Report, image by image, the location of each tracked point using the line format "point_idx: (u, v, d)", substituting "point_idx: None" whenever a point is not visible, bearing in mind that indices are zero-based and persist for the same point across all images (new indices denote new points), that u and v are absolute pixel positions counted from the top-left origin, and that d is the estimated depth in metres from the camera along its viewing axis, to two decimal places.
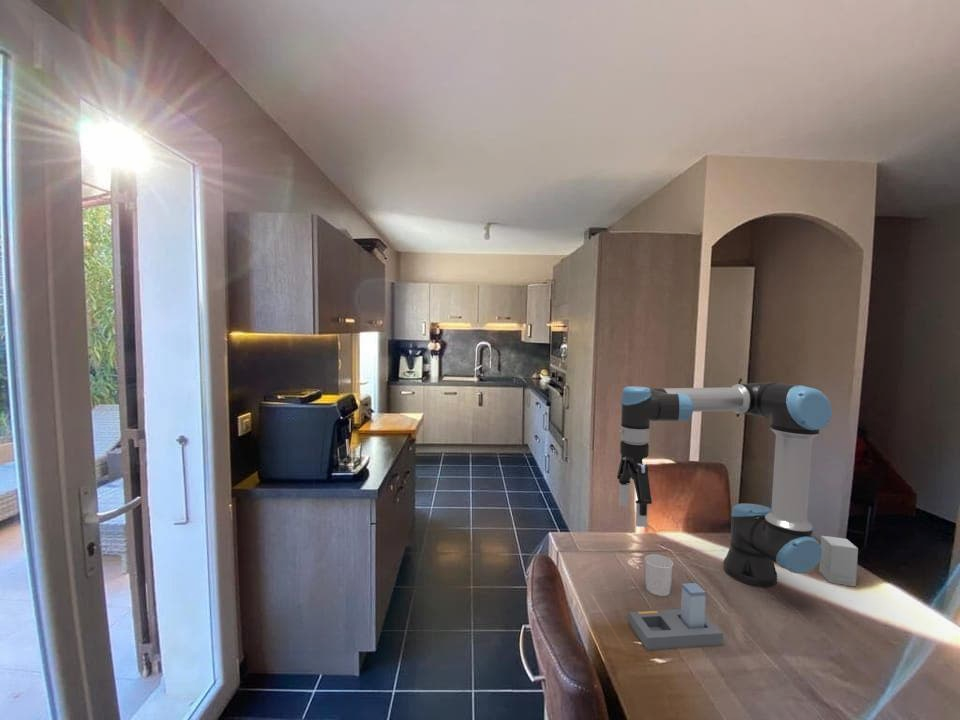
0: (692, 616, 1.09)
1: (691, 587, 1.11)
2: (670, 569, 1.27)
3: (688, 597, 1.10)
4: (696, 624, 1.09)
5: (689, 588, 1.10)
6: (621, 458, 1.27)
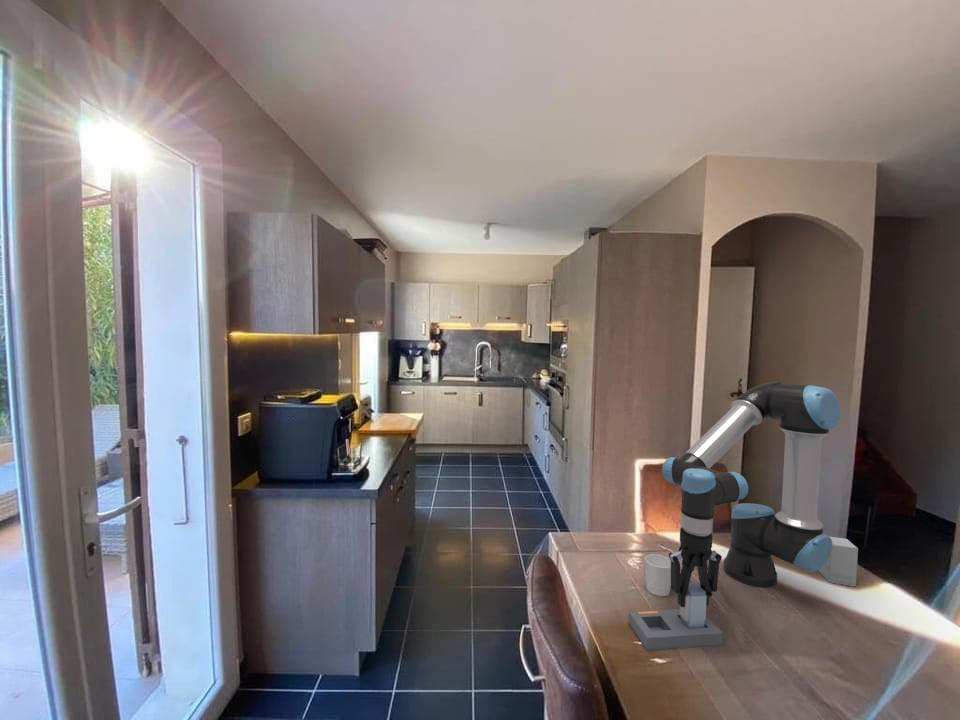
0: (692, 616, 1.09)
1: (691, 587, 1.11)
2: (670, 569, 1.27)
3: None
4: (696, 624, 1.09)
5: (689, 588, 1.10)
6: None
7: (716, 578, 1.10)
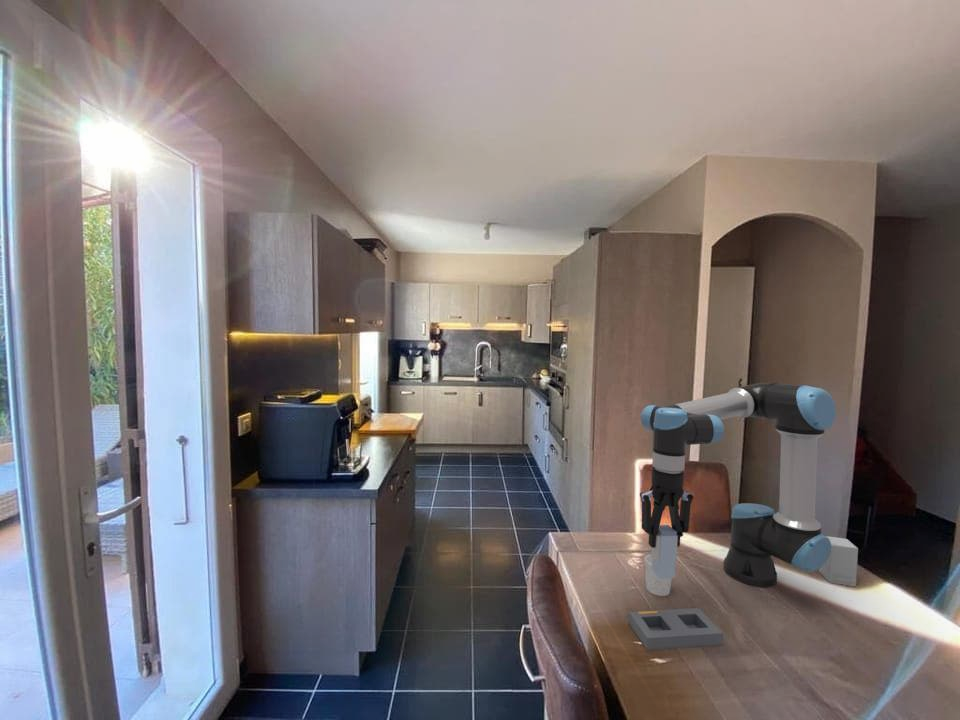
0: (662, 557, 1.07)
1: (662, 528, 1.09)
2: None
3: None
4: (667, 565, 1.07)
5: (660, 529, 1.08)
6: None
7: (687, 518, 1.08)
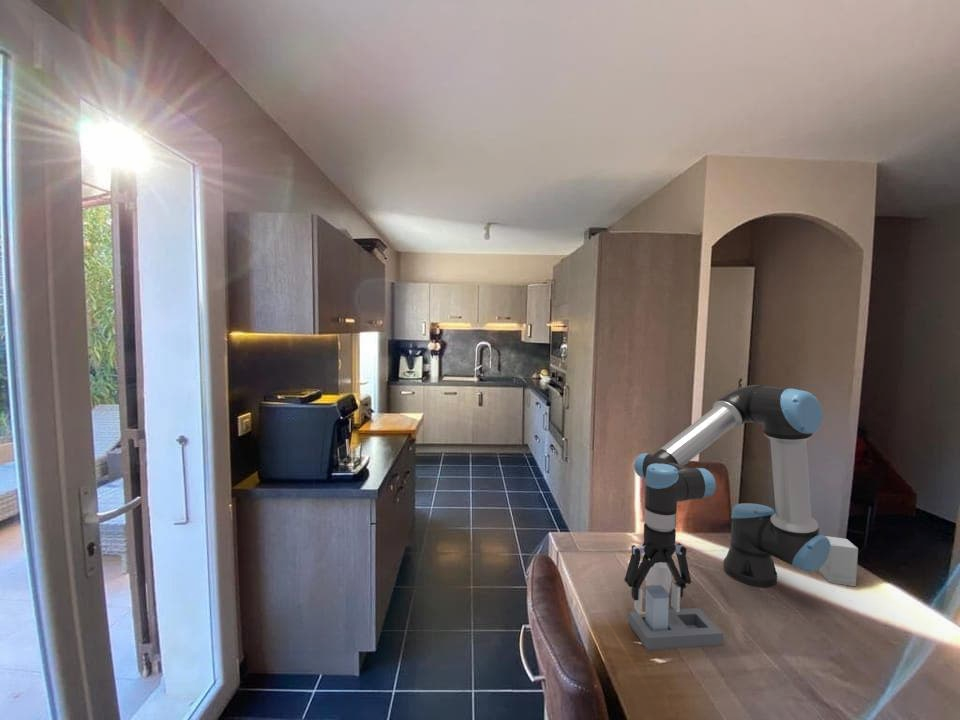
0: (655, 619, 1.08)
1: (655, 589, 1.10)
2: None
3: (652, 599, 1.08)
4: (659, 627, 1.08)
5: (652, 590, 1.09)
6: None
7: (687, 570, 1.09)
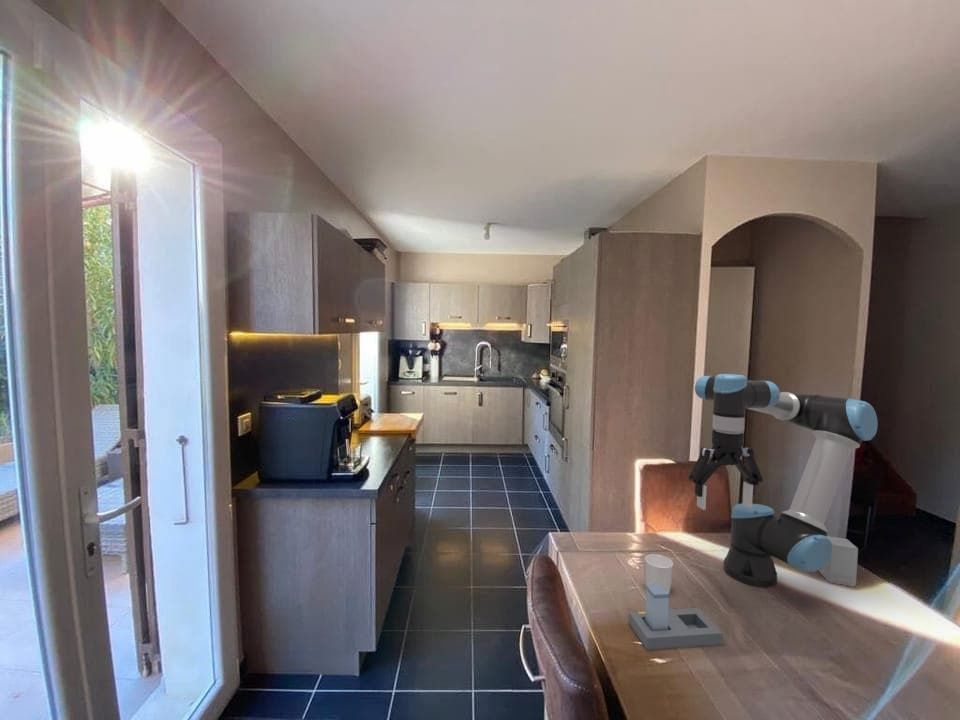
0: (655, 619, 1.08)
1: (655, 589, 1.10)
2: (670, 569, 1.27)
3: (652, 599, 1.08)
4: (659, 627, 1.08)
5: (652, 590, 1.09)
6: None
7: (757, 469, 1.16)
